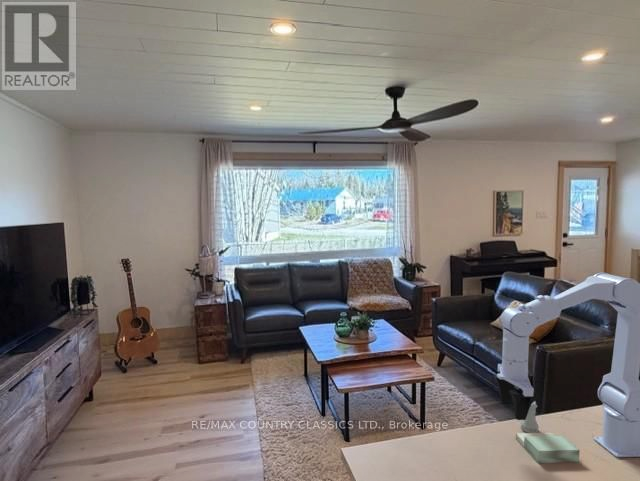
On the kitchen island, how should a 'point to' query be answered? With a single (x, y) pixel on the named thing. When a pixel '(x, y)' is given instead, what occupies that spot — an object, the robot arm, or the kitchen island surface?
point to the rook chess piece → (530, 420)
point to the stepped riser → (548, 447)
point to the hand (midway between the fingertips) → (513, 411)
